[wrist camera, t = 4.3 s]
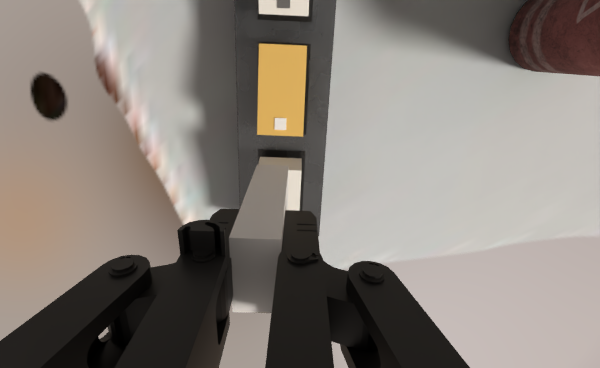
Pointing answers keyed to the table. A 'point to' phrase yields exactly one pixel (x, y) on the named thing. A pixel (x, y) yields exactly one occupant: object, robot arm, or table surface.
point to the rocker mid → (281, 89)
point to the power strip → (319, 42)
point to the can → (557, 36)
